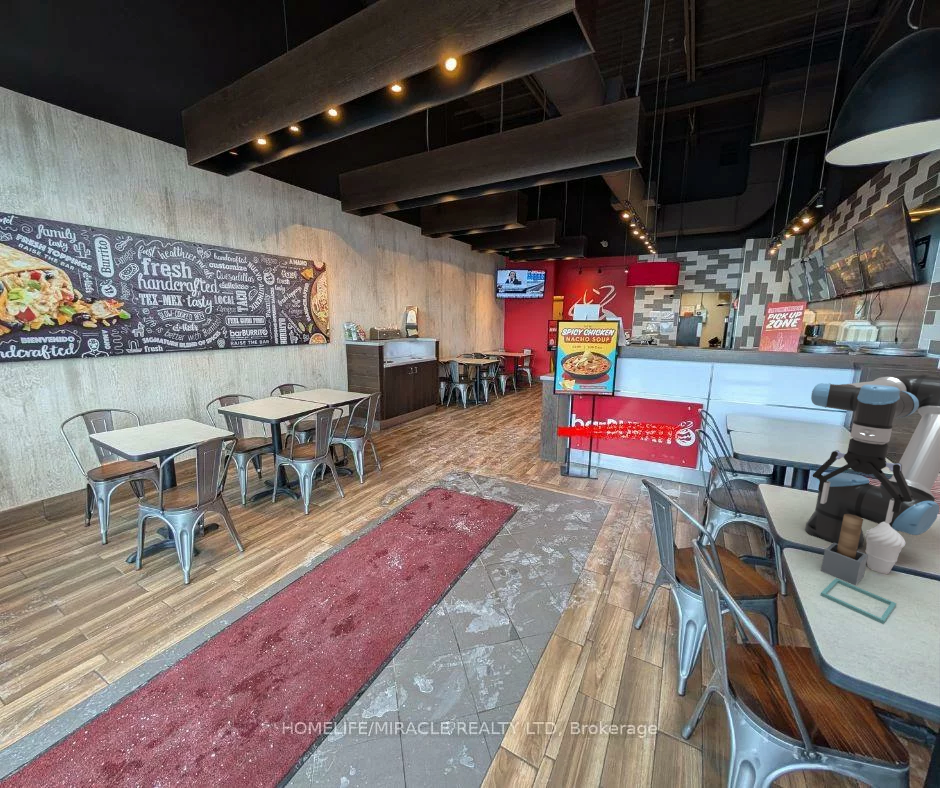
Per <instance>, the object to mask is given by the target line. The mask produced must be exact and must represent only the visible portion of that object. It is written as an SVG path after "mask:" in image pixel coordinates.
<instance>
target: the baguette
mask: <svg viewBox="0 0 940 788" xmlns="http://www.w3.org/2000/svg"><path fill="white" fill-rule="evenodd" d="M863 524H864V519H863V518H861V517H858V516H855V515H851V514H844V517H843V522H842V527H841V532H840V537H839V542H838V547H837V552H836V553H838V554H841V555H844V556H847V557H849V558H852V559H855V557H856V552H857V551H858V549H859V548H858V543H859V538H860V533H861V528H862V529H863Z"/></svg>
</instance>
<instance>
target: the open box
mask: <svg viewBox="0 0 940 788" xmlns="http://www.w3.org/2000/svg"><path fill="white" fill-rule="evenodd" d="M837 547H838V544H837V543H834V542H833V543H831V544H830V545H828V547H826V548H825V549H824V552H823V558H822V564H821V567H820V568H821V569H820V572H822V573H824V574H827V575H829V576H832V577H834V578H837V579H839V580H842V581H844V582H847V583H849V584H851V585H854V586H856V587H857V584H859V582H861V580H862V579H863V578H864V575H865V571H866V565H867V558H868V555H867V554H866V552H865V553H864V552H862V551H858V550H857V552H856V557H855V559H852V558H849V557H847V556H844V555H841V554H838V553H836V552H837Z"/></svg>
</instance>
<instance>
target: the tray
mask: <svg viewBox="0 0 940 788" xmlns="http://www.w3.org/2000/svg"><path fill="white" fill-rule="evenodd" d="M838 584H839V585H841V586H844V587H846V588H848V589H850V590H853V591H856V592H858V593H860V594H863V595H865V596H868V597H870V598H872V599H874V600H877V601H878V602H882V603H884V604H886V605H888V606H887V608H886V609H885V611H884V612H883V613H882V615H881V616H878V615H876V614H873V613H871V612H869V611H866V610H864V609H862V608H859V607H858V606H855V605H853V604H850V603H848V602H846V601H844V600H842V599H839V598H837V597H835V596H832V595H830V592H831V591H832V590H833V589H834V588H836V586H837V585H838ZM819 596H821V597H822V598H825V599H826V600H829V601H831V602H834V603H836V604H839V605H840V606H843V607H845V608H847V609H850V610H852V611H854V612H856V613H858V614H860V615H862V616H865V617H867V618H869V619H871V620H873V621H876V622H878V623H879V624H882V625H884V624H885V623H886V621H887V620H888V619H889V617H891V616H890V615H891V614H892V613H893V611H894V609H895V608H896V606H897V603H896V602H895V601H892V600H889V599H887V598H885V597H882V596H881V595H878V594H875V593H873V592H871V591H868V590H866V589H863V588H860V587H859V586H857V585H856V586H855V585H853V584H851V583H848V582H846V581H843V580H841V579H839V578H836V577H834V579H833V580H832V581H831V582H830V583H829V584H827V586H826V587H825V588H824V589H823V590H822V591H821V592H820V595H819Z"/></svg>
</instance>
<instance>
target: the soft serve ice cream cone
mask: <svg viewBox="0 0 940 788" xmlns="http://www.w3.org/2000/svg"><path fill="white" fill-rule="evenodd" d="M864 537H866V538H865V539H866V540H865V542H866V546H865V548H866V549H865V554H867V555H868V558H867V563H866V565H867V567H868V569H870V570H873V572H877V573H880V574H887V575H888V574H890V572H891V571H892V569H893V567H894V565H895V564H896V563H897V562H898V559H899V555H900V553H901V552H902V549H903V548H904V547H905V546H906V540H905V538H904V537H903V536H902V535H901V533H899V531H896V530H894V529H893V528H892V527H891V526H890V525H889V524H888V523H885V522H881V523H880V524H877V525H876V526H875V527H871V528H870V529H867V530H865V533H864Z"/></svg>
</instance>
